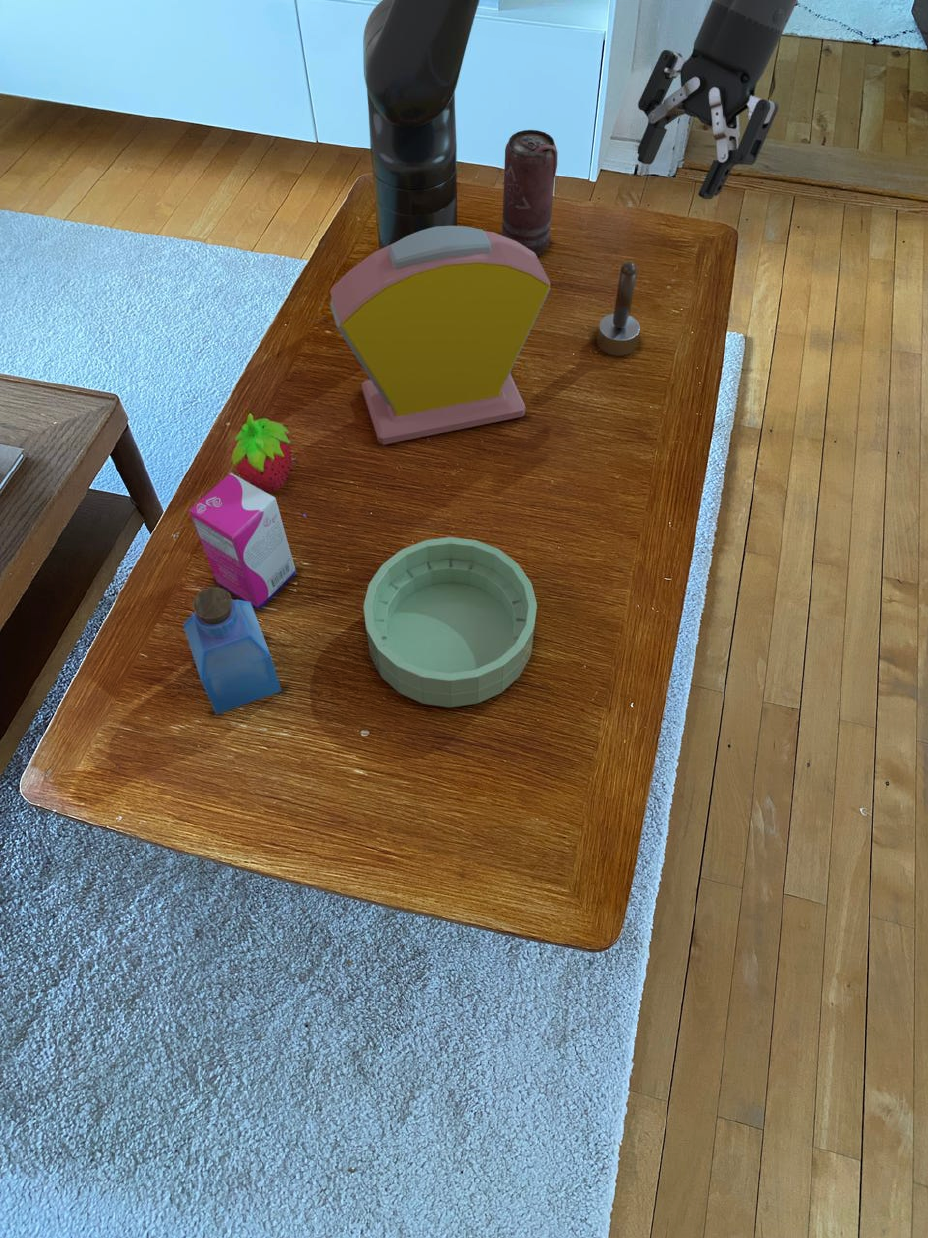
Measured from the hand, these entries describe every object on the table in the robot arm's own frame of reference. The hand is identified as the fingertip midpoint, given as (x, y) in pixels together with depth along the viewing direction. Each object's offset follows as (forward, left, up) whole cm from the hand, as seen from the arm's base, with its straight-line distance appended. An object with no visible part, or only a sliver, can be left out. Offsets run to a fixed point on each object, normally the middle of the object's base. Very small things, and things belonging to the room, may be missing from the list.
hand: (673, 179), depth 104 cm
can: (-16, -12, -18) cm, 27 cm away
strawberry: (+20, -47, -18) cm, 54 cm away
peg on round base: (+4, -5, -18) cm, 19 cm away
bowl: (+42, -31, -18) cm, 55 cm away
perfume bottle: (+43, -51, -18) cm, 69 cm away
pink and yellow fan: (+11, -27, -18) cm, 34 cm away
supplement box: (+32, -49, -18) cm, 61 cm away
